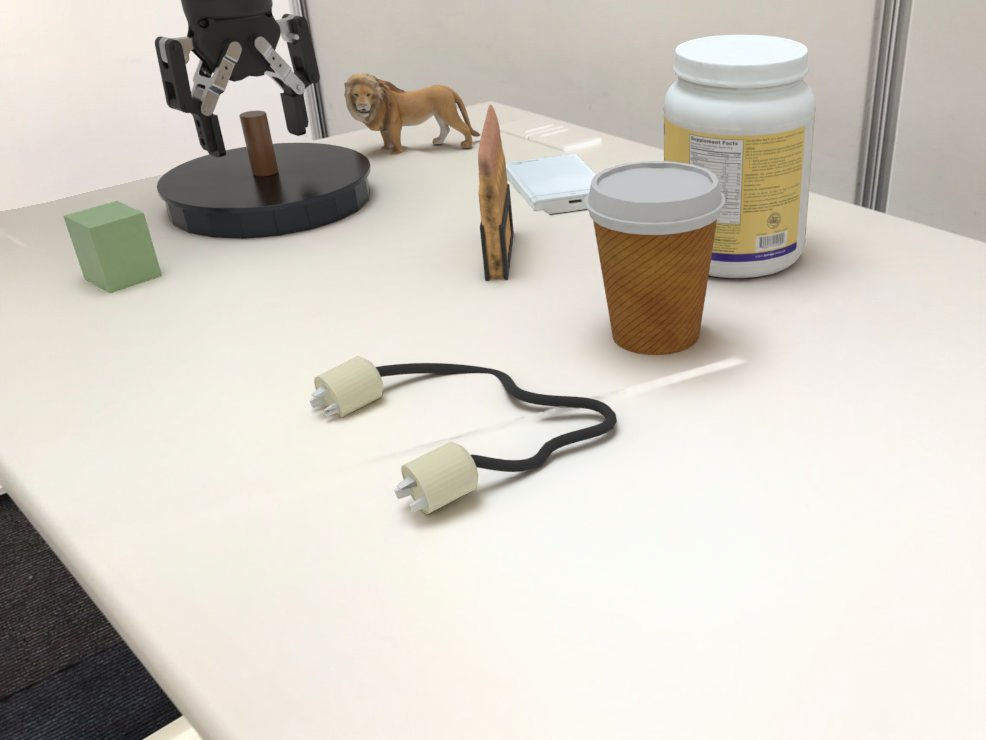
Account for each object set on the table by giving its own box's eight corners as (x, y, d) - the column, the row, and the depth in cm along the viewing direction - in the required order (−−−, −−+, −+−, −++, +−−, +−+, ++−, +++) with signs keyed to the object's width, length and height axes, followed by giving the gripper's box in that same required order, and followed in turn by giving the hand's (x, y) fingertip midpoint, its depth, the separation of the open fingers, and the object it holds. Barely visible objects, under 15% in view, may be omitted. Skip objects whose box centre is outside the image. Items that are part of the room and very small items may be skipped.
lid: (177, 235, 89) (156, 158, 86) (146, 173, 104) (126, 105, 100) (398, 195, 97) (387, 123, 93) (340, 142, 111) (329, 78, 108)
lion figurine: (364, 168, 112) (349, 81, 106) (348, 156, 115) (333, 71, 110) (489, 145, 118) (481, 61, 113) (470, 134, 121) (461, 52, 116)
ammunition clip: (493, 239, 94) (480, 102, 87) (514, 238, 94) (502, 101, 87) (485, 287, 85) (469, 139, 79) (508, 286, 85) (494, 138, 79)
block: (112, 299, 84) (88, 228, 81) (86, 285, 87) (62, 215, 84) (164, 281, 87) (143, 212, 84) (137, 268, 90) (116, 200, 86)
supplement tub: (688, 222, 97) (690, 28, 87) (818, 237, 93) (835, 36, 84) (643, 272, 87) (639, 60, 78) (785, 291, 84) (800, 71, 74)
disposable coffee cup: (744, 332, 78) (751, 172, 71) (676, 385, 71) (677, 215, 65) (637, 303, 82) (635, 151, 75) (565, 351, 76) (555, 188, 69)
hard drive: (502, 162, 107) (533, 199, 98) (578, 152, 110) (615, 188, 100) (503, 178, 108) (534, 216, 99) (578, 168, 111) (616, 205, 101)
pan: (189, 259, 91) (180, 226, 90) (158, 197, 105) (150, 167, 103) (394, 219, 99) (390, 188, 97) (341, 167, 112) (335, 138, 110)
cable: (505, 345, 77) (500, 302, 75) (639, 439, 66) (638, 391, 64) (302, 413, 69) (291, 366, 67) (416, 531, 58) (408, 480, 56)
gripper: (265, -60, 96) (300, 121, 105) (115, -41, 87) (167, 154, 96) (313, -53, 91) (345, 134, 101) (160, -32, 83) (210, 171, 92)
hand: (258, 144), depth 98 cm, fingers open, 8 cm apart
